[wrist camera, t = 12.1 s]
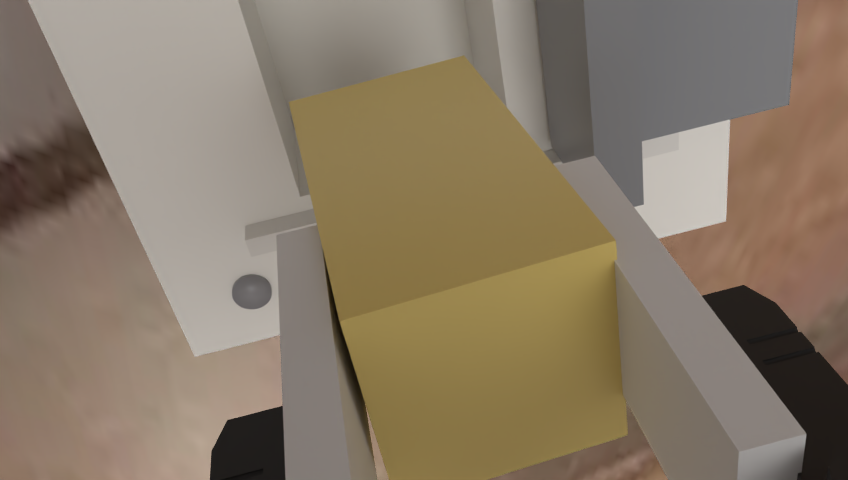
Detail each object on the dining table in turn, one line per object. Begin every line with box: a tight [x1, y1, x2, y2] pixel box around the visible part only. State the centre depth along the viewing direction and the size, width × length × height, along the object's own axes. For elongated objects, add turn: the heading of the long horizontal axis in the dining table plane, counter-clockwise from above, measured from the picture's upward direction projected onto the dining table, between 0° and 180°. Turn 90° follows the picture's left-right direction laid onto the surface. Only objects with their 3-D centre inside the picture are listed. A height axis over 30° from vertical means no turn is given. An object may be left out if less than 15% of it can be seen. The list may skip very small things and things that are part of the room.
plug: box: [289, 56, 628, 480], centre depth 16 cm, size 4×4×8 cm
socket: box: [28, 0, 730, 357], centre depth 24 cm, size 16×18×6 cm
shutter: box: [536, 0, 798, 207], centre depth 20 cm, size 7×7×4 cm
